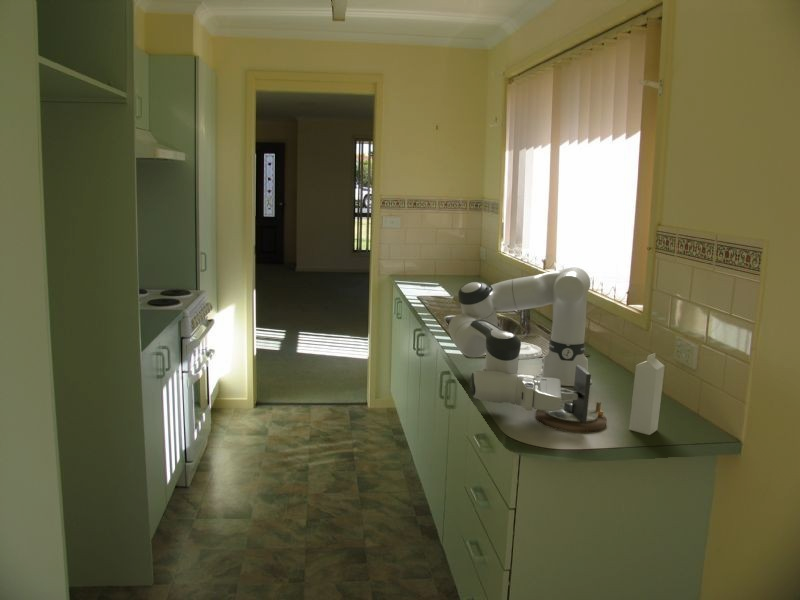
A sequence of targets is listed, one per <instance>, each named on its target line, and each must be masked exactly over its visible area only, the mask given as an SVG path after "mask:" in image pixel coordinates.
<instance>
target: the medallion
mask: <svg viewBox="0 0 800 600" xmlns="http://www.w3.org/2000/svg"><path fill="white" fill-rule="evenodd" d="M542 350H543V349H542V348H541V347H540V346H538V345H535V344H533V343H528V342H523V341H521V347H520V353H519V360H534V359H538V358H540V357H541V356H542V355H543V354H542V353H543V351H542ZM483 355H486V353H485V354H483ZM483 355H482V356H483Z"/></svg>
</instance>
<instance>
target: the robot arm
mask: <svg viewBox="0 0 800 600" xmlns="http://www.w3.org/2000/svg"><path fill="white" fill-rule="evenodd" d="M590 288H591V279H590V276H589V274H588V272H587V271H585V270H584V269H582V268H579V267H568V268H562V269H558V270H553V271H549V272H548V271H547V272H544V273H539V274H535V275H529V276H523V277H518V278H517V277H516V278H512V279H511V278H510V279H507V280H502V281H499V282H497V283H493V284H491V285H490V284H488V283H485V282H481V281H471V282H467V283H466V284H464V285H462V286H461V287H460V288H459V290H458V295H457V296H458V302H459V303H460V304H459V305H460V309H461V313H459V314H456V315H455V316H453V317H452V318H451V319H450V321H449V324H448V332H449V335H450V337H451V340H452V342H453V343H454V345H455V346H456V347H457V349H458V350H459V352H461V354H463V355H465V356H466V357H468V358H478V357H481V356H483V354H485V353H486V356H485V359H484V361H485V364H484V368H483V370H476V371H475V370H474V371H473V372H471V375H470V395H471V396H472V398H474V399H478V400H480V401H485V402H490V403H494V404H495V403H496V404H502V403H508V404H511V405H515V406H519V407H522V409H524V410H525V411H533V409H534V410H551V411H556V410H560V409H561V402H562V401H563V402H566V401H573V400H577V399H578V393H577V391H574V390H571V389H568V388H565V387H574V382H575V371H576V365H580V366H582V367H583V368H584V369H585V370H586V371H588V367H589V365H588V364H589V359H588V358H587V357H586V356H585V354H584V353H585V349H586V343H585V334H586V333H585V332H586V325H587V306H588V305H587V303H588V293H589V291H590ZM548 305H552V322H551V323H552V324H551V325H552V326H551V337H550V339H549V343H548V352H547V353H546V354H544V356H543V357H542V359H541V364H542V365H541V369H540V370H539V371H538V373H537V374H536V377H535V375H533V374H525V373H518V372H519V371H518V370H519V360H520V359H519V353H520V347H521V342H522V341H521V340H520V338H519V337H518V336H517V335H516V334H515V333H514V332H511V331H508V330H504V328H501V327H500V324H499V322H498V321H499V320H498V316H497V312H514V311H520V310H521V311H523V310H528V309H535V308H541V307H542V308H543V307H544V306H548ZM592 381H593V380H592V379H590V385H591V384H592V383H593V382H592ZM562 386H565V387H562Z"/></svg>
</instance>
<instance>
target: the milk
mask: <svg viewBox="0 0 800 600" xmlns="http://www.w3.org/2000/svg"><path fill="white" fill-rule="evenodd" d="M665 367H666V366H665V364H663V363H662V362H660V361H659V360H658V359H657V358H656V353H655V352H654V353H652V354H649V355H648V356H647V357H646V360H645V361H642V362H640V363H638V364H636V365H635V373H634V379H633V381H634V382H633V388H632V389H633V390H632V398H631V399H632V400H631V409H630V417H629V425H628V426H629V427H628V429H629V430H630V431H633V432H637V433H640V434H644V435H648V436H651V435H652V434H653V433H655V432H656V431H658V427H659V417H660V410H661V409H660V408H661V400H662V395H663V394H662V392H663V385H664V384H663V382H664V376H665V375H664V374H665V369H666V368H665Z"/></svg>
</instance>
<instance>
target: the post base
mask: <svg viewBox="0 0 800 600" xmlns="http://www.w3.org/2000/svg"><path fill="white" fill-rule="evenodd" d="M601 404H602V402H601V401H596V405H595V410H601ZM535 419H536V420H537V421H538V422H539V423H540V422H541V423H540V424H541V425H544V426H546V427H549V428H552V429H555V430H559V431H565V432H569V433H595V432H600V431H602V430H604V429H606V427H607V418H606V416H605V415H604V414H603V416H598V419H597V420H596V421H594V422H590V423H570V422H564V421H560V420H557V419H554V418H551V417H549V416H548V415H547V414H546V413H545V410H537V409H535Z"/></svg>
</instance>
